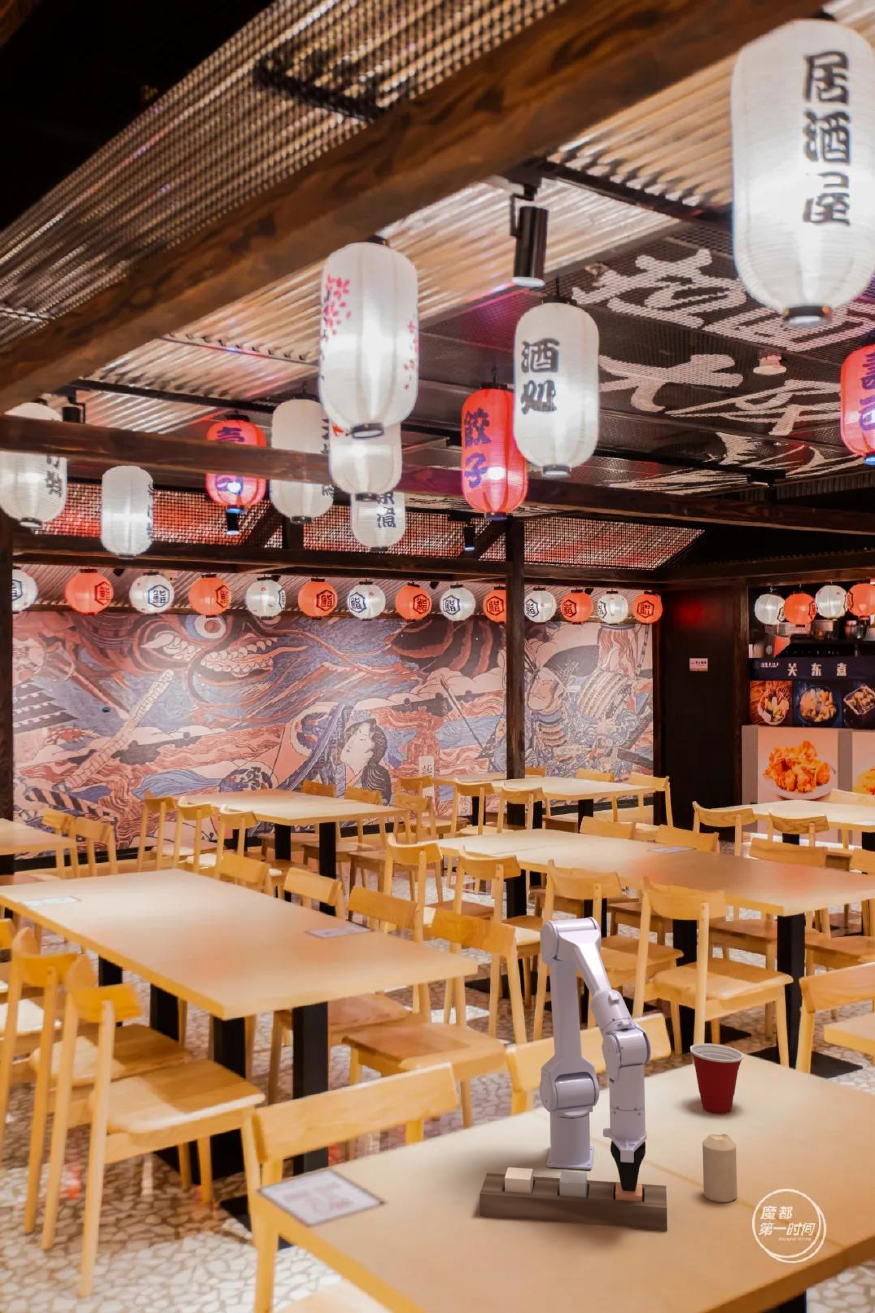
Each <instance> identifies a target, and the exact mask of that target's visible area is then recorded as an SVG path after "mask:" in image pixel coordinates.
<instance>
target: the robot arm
mask: <svg viewBox="0 0 875 1313" xmlns="http://www.w3.org/2000/svg"><path fill="white" fill-rule="evenodd" d="M539 938H540V939H539V942H540V955H541V962H542V963H543V964H545V965H548V968H549V969H548V970H549V983H550V999H551V1000H550V1001H551V1016H552V1032H553V1033H552V1035H553V1046H554V1047H553V1048H554V1050H553V1051H554V1055H553V1056H552V1057H551V1058H550V1059H549V1060H548V1061H546V1063H544V1064H543V1065H542V1066H541V1068H540V1082H539V1087H538V1088H539V1090H538V1091H539V1098H540V1102H541V1104H542V1106H543V1108H544V1109H545V1110H546V1111H547V1112H548V1113H549V1130H550V1131H549V1134H550V1135H549V1137H550V1143H549V1144H550V1148H549V1152H548V1157H547V1161H546V1166H547V1168H562V1169H572V1170H573V1169H576V1170H588V1171H589V1170H592V1168H593V1159H594V1150H595V1148H594V1146H593V1145H591V1136H590V1135H591V1132H590V1130H591V1128H590V1122H591V1121H590V1113H593V1111H594V1107H595V1106H597V1105H598V1104H597V1103H599V1098H600V1086H599V1082H598V1079H597V1074H596V1068H595V1067H596V1066H594V1064H593V1063H592V1062H591V1061H590V1060H588V1059H587V1058H585V1057H584V1056H583V1054H582V1041H581V1040H582V1039H581V1038H582V1037H581V1025H580V1024H581V1022H580V1012H579V1011H580V1010H579V1008H580V1007H579V997H578V995H579V994H578V979H577V970H578V972H579V974H580V976H581V978H582V980H583V982H584V983H585V985H586V987H587V990H588V991H589V993H590V995H591V996H592V998H591V1000H590V1003H589V1008H590V1011H591V1013H592V1015H593V1017H594V1020H595V1022H596V1024H597V1027H598V1029H599V1031H600V1033H601V1037H602V1039H603V1040H602V1044H601V1050H602V1055H603V1056H602V1057H603V1059H604V1063H605V1065H604V1066H605V1074H606V1075H607V1077H608V1087H609V1093H608V1094H609V1128H608V1127H607V1128H602V1129H603V1130H602V1136H603V1137H604V1138H609V1139H610V1140H611V1141H610V1149H609V1150H610V1155H611V1156H612V1158H613V1159H614V1162H615V1164H616V1167H617V1172H618V1177H619V1182H620V1183H621V1187H622V1190H623V1191H633V1192H635V1190H636V1187H637V1184H638V1179H639V1172H640V1168H641V1164H642V1162H643V1160H644V1158H645V1156H646V1152H647V1151H646V1147H647V1146H646V1145H647V1144H646V1140H647V1139H648V1138H647V1137H648V1135H647V1134H648V1133H647V1131H646V1098H645V1097H646V1093H645V1092H646V1091H645V1090H646V1088H645V1065H647V1064H648V1063H649V1062H650V1060H651V1056H652V1048H651V1042H650V1039H649V1036H648V1033H647V1032H646V1031H645V1029H644V1028H643V1027H641V1026H640V1025H639V1023H638V1022H635V1021H634V1020H633V1019H632V1015H631V1014H630V1012H629V1009H628V1008H627V1005H626V1003H625V1000H624V999H623V996H622V994H621V993H620V992H619V991H617V990H616V989H613V988H612V987H611V986H612V985H611V983H610V981H609V980H610V979H609V977H608V974H607V971H606V969H605V966H604V962H603V960H602V957H601V953H600V952H601V949H602V932H601V928H600V924H599V923H598V921H597V920H596V919H595V918H594V917H592V916H589V917H585V918H574V919H572V918H569V919H560V920H558V919H557V920H549V919H548V920H545V922H544V923H543V925H542V927H541V929H540V931H539Z"/></svg>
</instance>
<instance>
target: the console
mask: <svg viewBox="0 0 875 1313" xmlns="http://www.w3.org/2000/svg"><path fill="white" fill-rule="evenodd" d="M505 1175H506V1173H493V1172H486V1175H485V1176H484V1180H483V1183H482V1186H481V1188H480V1189H481V1190H480V1193H479V1216H481V1217H482V1216H483V1217H493V1218H505V1219H518V1220H531V1221H542V1222H543V1221H545V1222H557V1223H570V1224H571V1223H572V1224H582V1225H583V1224H584V1225H593V1226H607V1227H619V1228H632V1229H644V1230H646V1229H647V1230H658V1231H668V1204H667V1203H668V1202H667V1201H668V1200H667V1185H662V1184H661V1185H660V1184H649V1183H647V1184H645V1183H641V1184H642V1202H639V1201H626V1200H616V1198H615V1193H616V1183H620V1181H604V1180H593V1179H592V1180H591V1179H590V1180H589V1179H587V1198H586V1197H572V1196H560V1185H559V1182H560V1177H550V1176H548V1177H547V1176H536V1175H535V1176H534V1175H533V1193H519V1192H505Z"/></svg>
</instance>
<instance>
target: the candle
mask: <svg viewBox="0 0 875 1313" xmlns="http://www.w3.org/2000/svg"><path fill="white" fill-rule="evenodd" d="M737 1168H738V1167H737V1144H736V1143H735V1142H734V1140H733V1139H732V1138H731V1136H729V1135H728V1134H727V1133H722V1134H716V1133H712V1134H709V1135H708V1136H707V1137H706V1138H705V1139H703V1141H702V1174H703V1176H702V1178H703V1179H702V1181H703V1195H704V1197H705V1198H706V1199H708V1200H711V1201H714V1202H717V1203H730V1202H731V1203H732V1202H733V1200H734V1199H735V1200H737V1198H738V1172H737ZM735 1200H734V1201H735Z"/></svg>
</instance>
